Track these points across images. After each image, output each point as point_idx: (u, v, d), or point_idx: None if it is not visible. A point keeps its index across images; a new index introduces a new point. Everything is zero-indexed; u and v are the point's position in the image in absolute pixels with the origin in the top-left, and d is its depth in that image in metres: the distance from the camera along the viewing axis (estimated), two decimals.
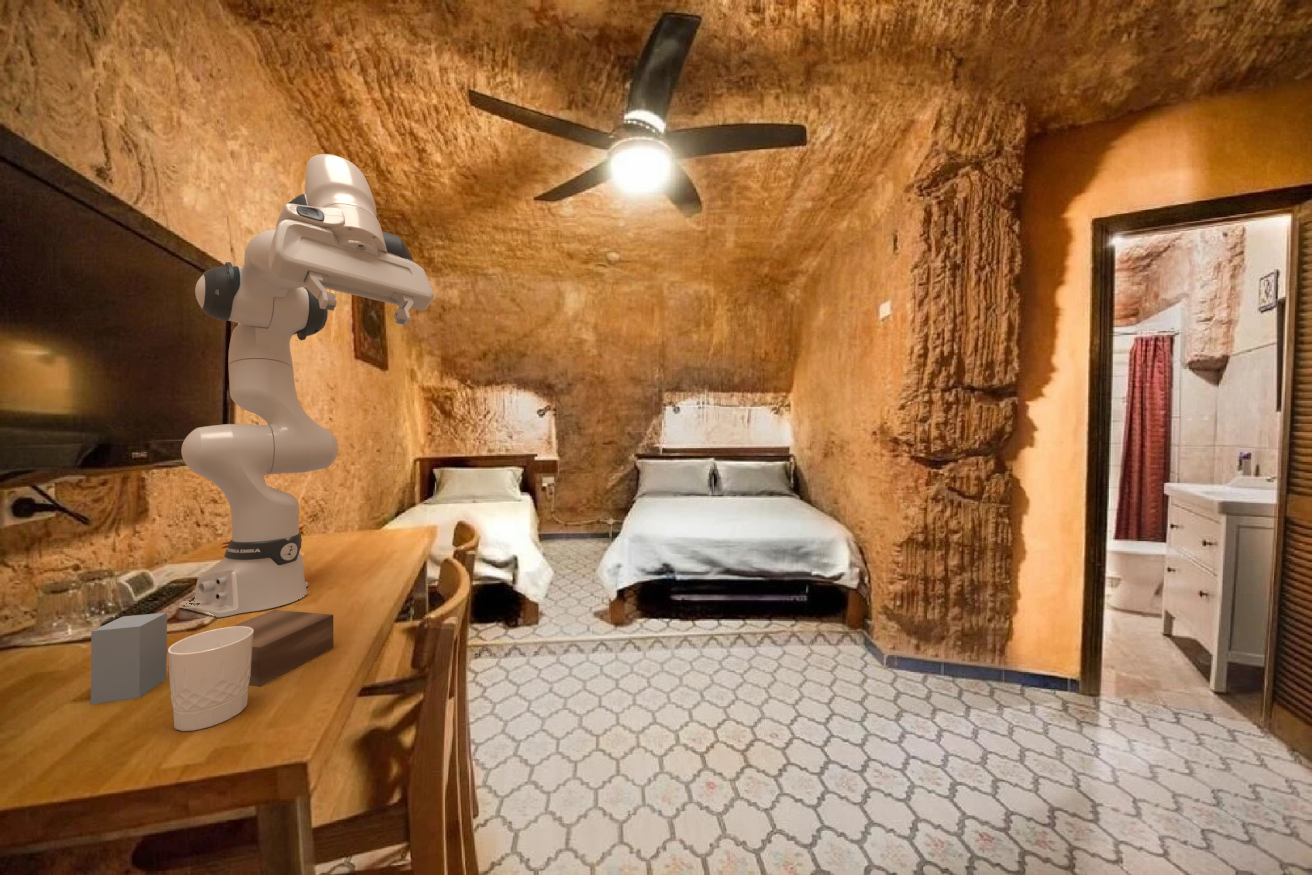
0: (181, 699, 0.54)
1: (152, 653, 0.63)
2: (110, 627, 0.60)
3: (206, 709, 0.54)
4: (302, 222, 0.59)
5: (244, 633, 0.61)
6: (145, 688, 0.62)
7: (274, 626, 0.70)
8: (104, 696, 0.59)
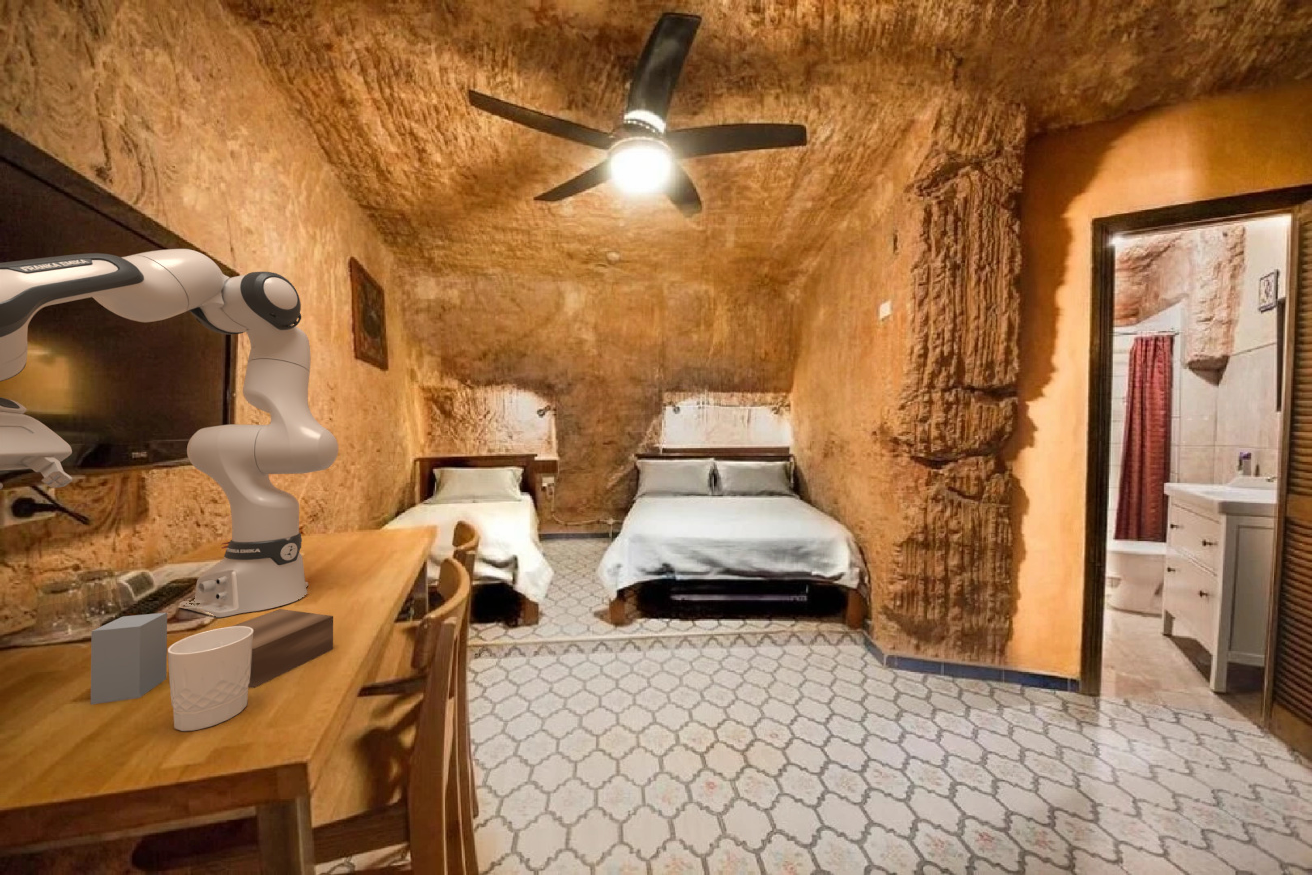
0: (181, 699, 0.54)
1: (152, 653, 0.63)
2: (110, 627, 0.60)
3: (206, 708, 0.54)
4: None
5: (244, 633, 0.61)
6: (145, 688, 0.62)
7: (274, 627, 0.70)
8: (104, 696, 0.59)
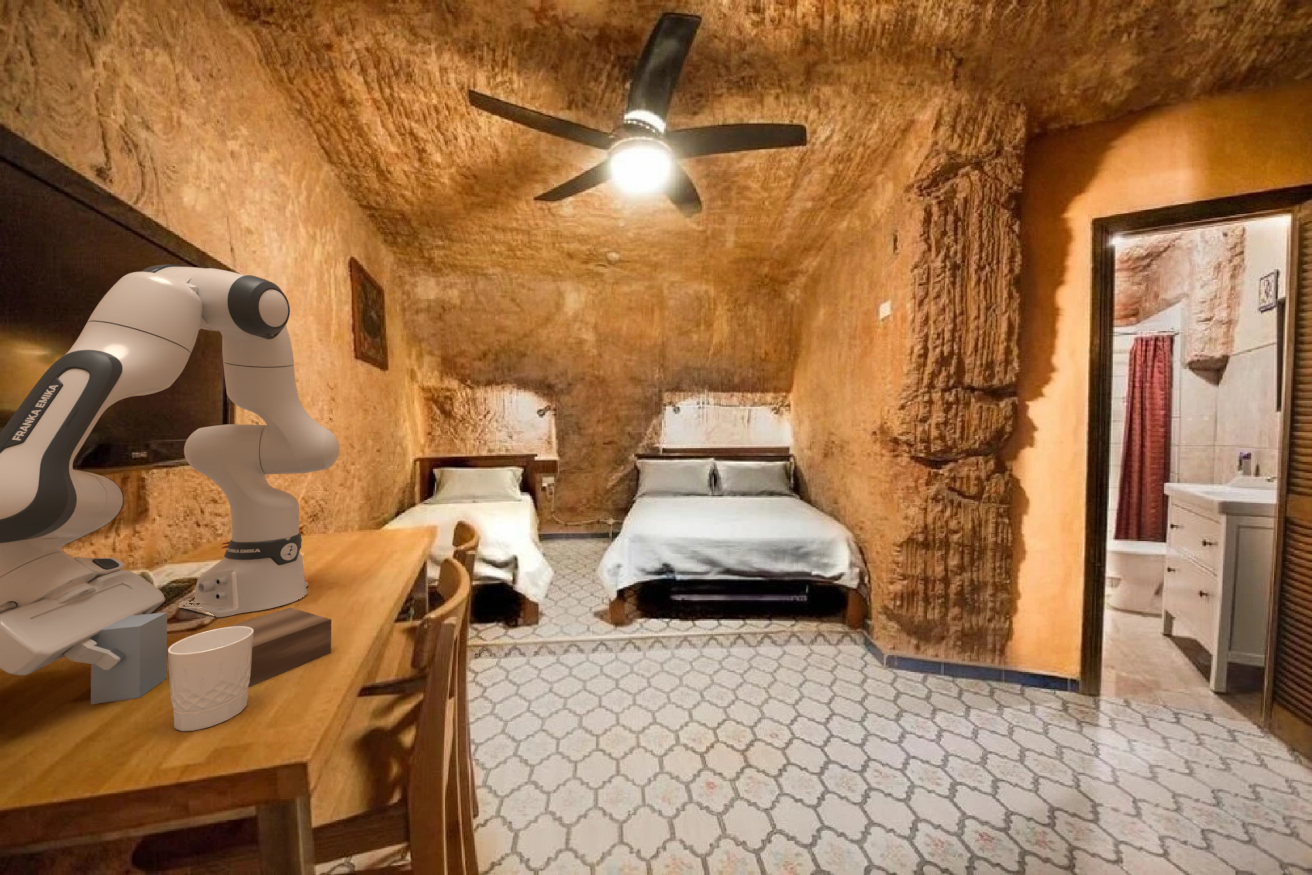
0: (181, 699, 0.54)
1: (152, 653, 0.63)
2: (110, 627, 0.60)
3: (205, 709, 0.54)
4: None
5: (244, 633, 0.61)
6: (145, 688, 0.62)
7: (273, 627, 0.70)
8: (104, 695, 0.59)
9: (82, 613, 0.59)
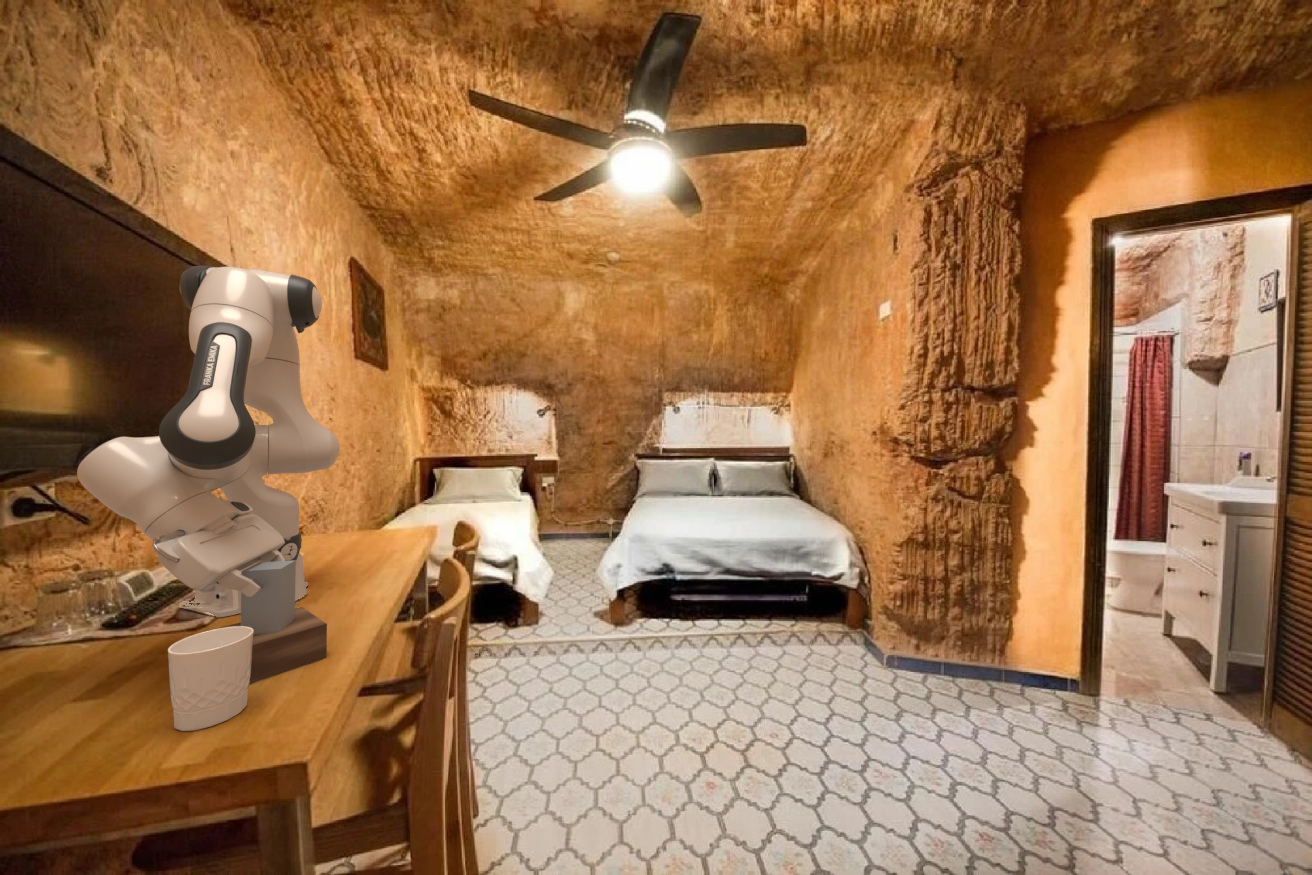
0: (181, 699, 0.54)
1: (287, 594, 0.71)
2: (255, 569, 0.68)
3: (205, 709, 0.54)
4: None
5: (244, 633, 0.61)
6: (283, 624, 0.70)
7: None
8: None
9: (232, 544, 0.67)
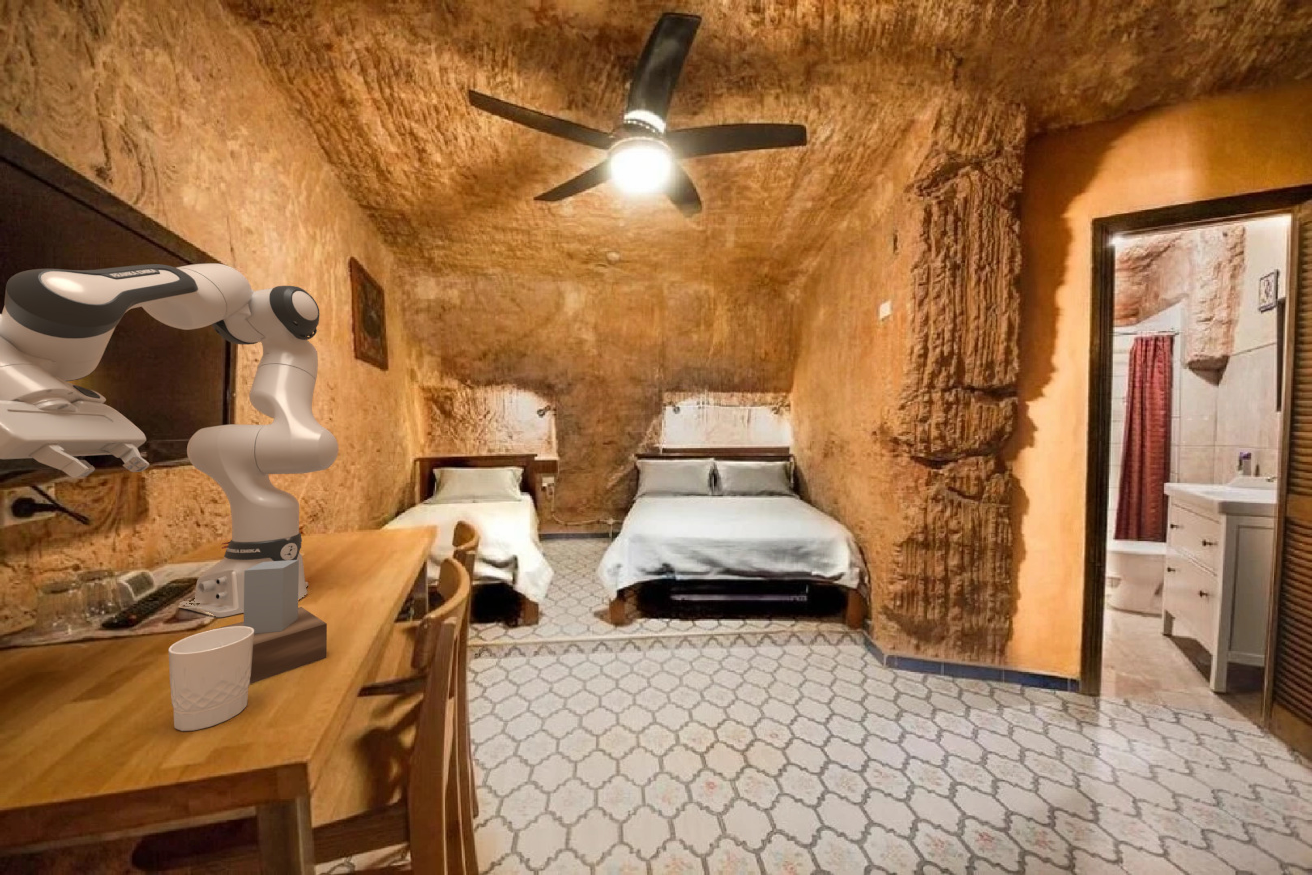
0: (181, 699, 0.54)
1: (290, 593, 0.71)
2: (258, 568, 0.69)
3: (205, 708, 0.54)
4: None
5: (245, 633, 0.61)
6: (285, 623, 0.70)
7: None
8: (254, 628, 0.68)
9: (61, 422, 0.60)
